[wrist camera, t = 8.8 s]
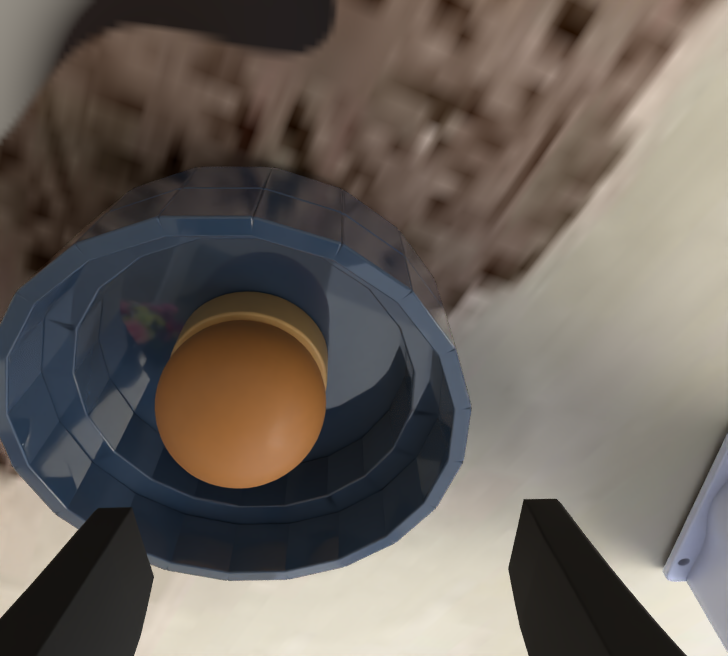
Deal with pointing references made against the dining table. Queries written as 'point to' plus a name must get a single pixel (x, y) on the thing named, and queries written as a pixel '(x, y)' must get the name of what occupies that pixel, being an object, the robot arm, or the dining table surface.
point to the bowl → (156, 342)
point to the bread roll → (243, 390)
